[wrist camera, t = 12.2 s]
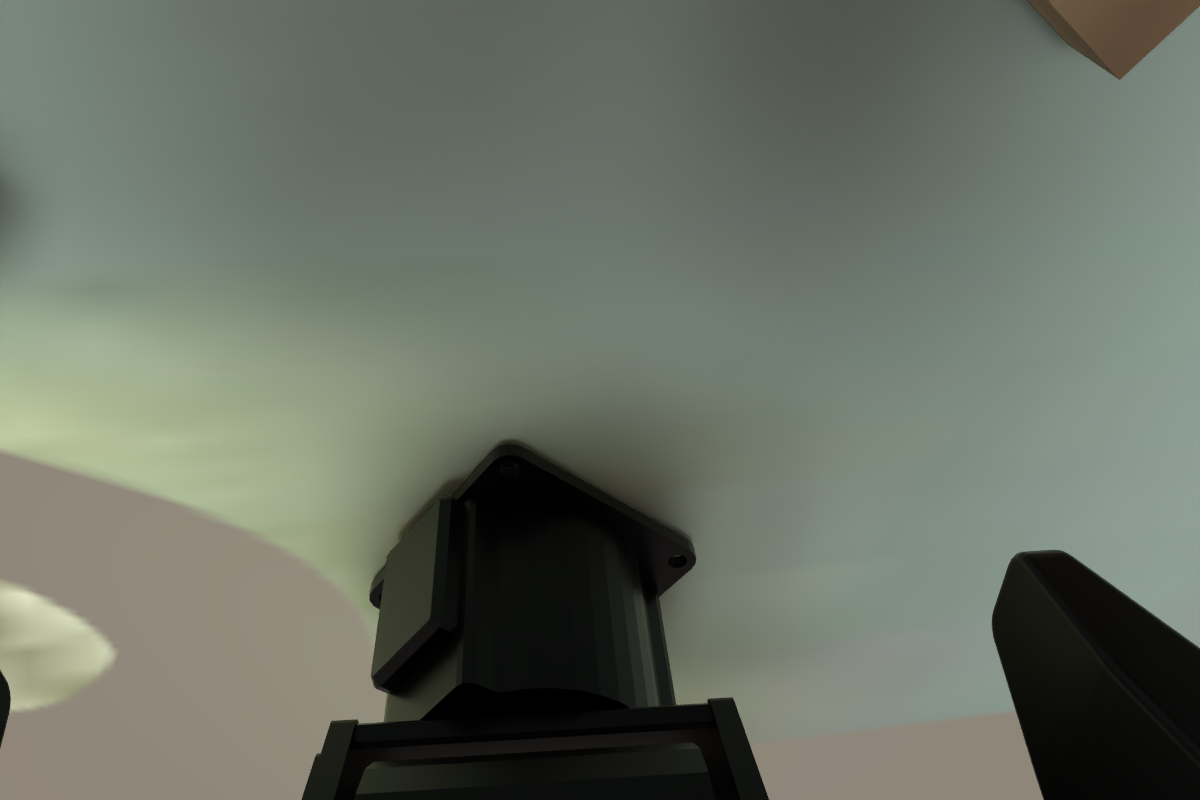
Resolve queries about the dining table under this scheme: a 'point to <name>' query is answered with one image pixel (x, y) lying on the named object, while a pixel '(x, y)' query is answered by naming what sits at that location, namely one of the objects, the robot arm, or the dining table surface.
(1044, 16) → the plate
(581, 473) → the dining table surface
